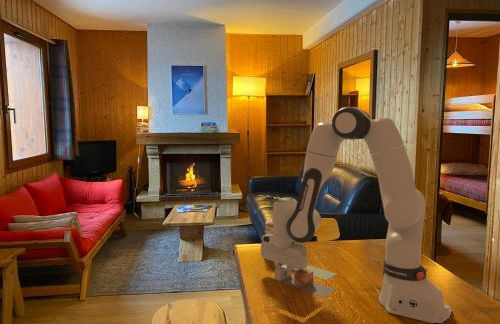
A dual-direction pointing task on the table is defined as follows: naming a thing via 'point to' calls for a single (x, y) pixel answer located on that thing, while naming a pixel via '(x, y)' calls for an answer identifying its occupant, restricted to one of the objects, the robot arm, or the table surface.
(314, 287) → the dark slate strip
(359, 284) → the table surface
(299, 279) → the terracotta block
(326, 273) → the sage green strip
